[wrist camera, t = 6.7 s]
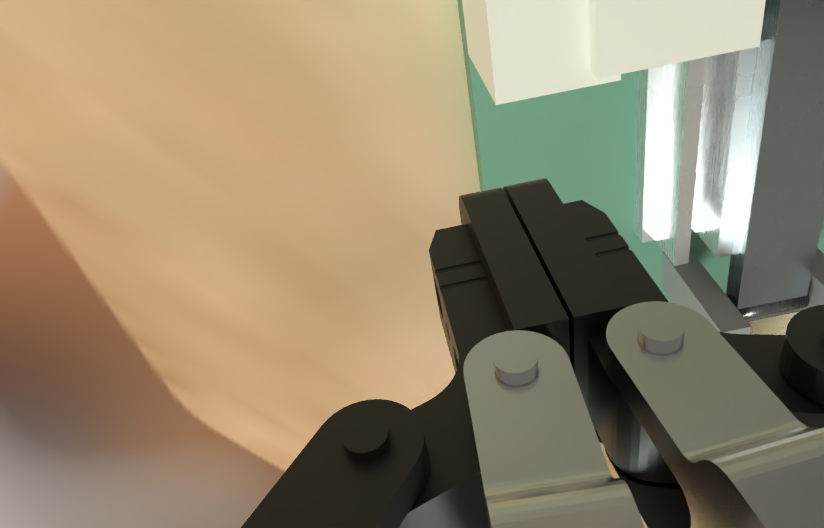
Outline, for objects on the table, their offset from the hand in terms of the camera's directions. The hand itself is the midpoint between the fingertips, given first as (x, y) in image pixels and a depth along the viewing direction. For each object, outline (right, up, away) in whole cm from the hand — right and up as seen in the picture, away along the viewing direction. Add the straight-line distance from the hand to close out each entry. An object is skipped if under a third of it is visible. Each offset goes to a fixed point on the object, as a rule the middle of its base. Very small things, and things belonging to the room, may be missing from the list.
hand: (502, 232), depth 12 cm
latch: (+4, +10, +13) cm, 16 cm away
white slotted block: (+12, +5, +17) cm, 21 cm away
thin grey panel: (+12, +4, +14) cm, 19 cm away
